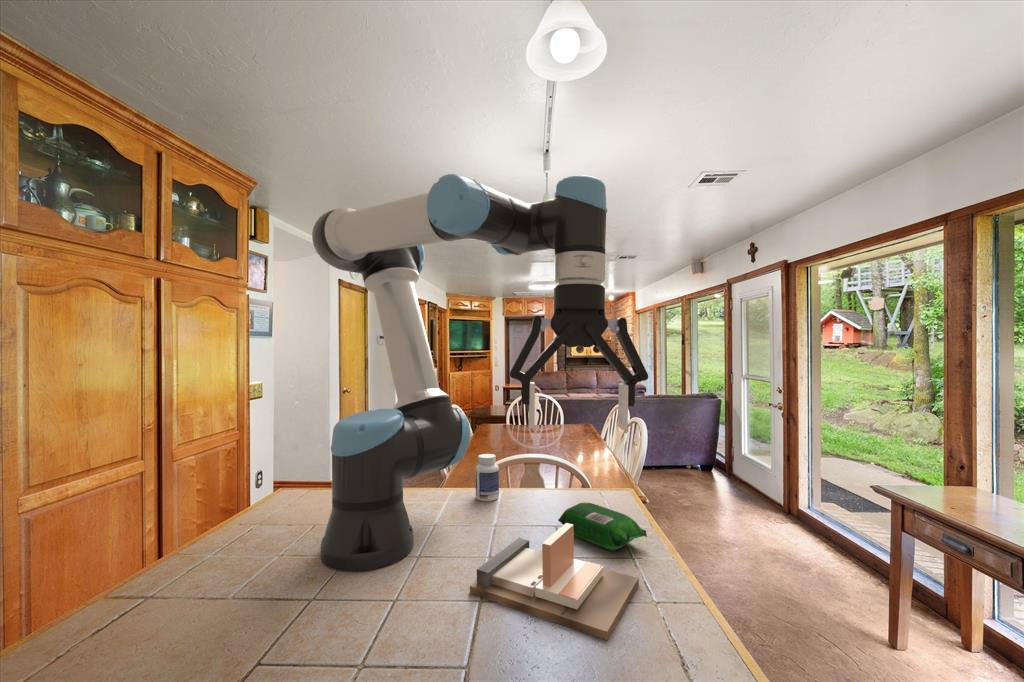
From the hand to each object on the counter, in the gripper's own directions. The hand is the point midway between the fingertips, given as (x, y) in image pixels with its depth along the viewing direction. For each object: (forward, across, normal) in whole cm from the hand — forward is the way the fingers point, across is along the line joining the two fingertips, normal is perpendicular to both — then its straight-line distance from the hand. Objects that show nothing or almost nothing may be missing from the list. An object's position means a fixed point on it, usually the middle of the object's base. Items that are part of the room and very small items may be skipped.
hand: (577, 427), depth 65 cm
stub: (+21, -1, -4) cm, 22 cm away
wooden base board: (+23, -3, -2) cm, 23 cm away
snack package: (+23, +6, +14) cm, 28 cm away
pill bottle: (+24, -15, +36) cm, 46 cm away
